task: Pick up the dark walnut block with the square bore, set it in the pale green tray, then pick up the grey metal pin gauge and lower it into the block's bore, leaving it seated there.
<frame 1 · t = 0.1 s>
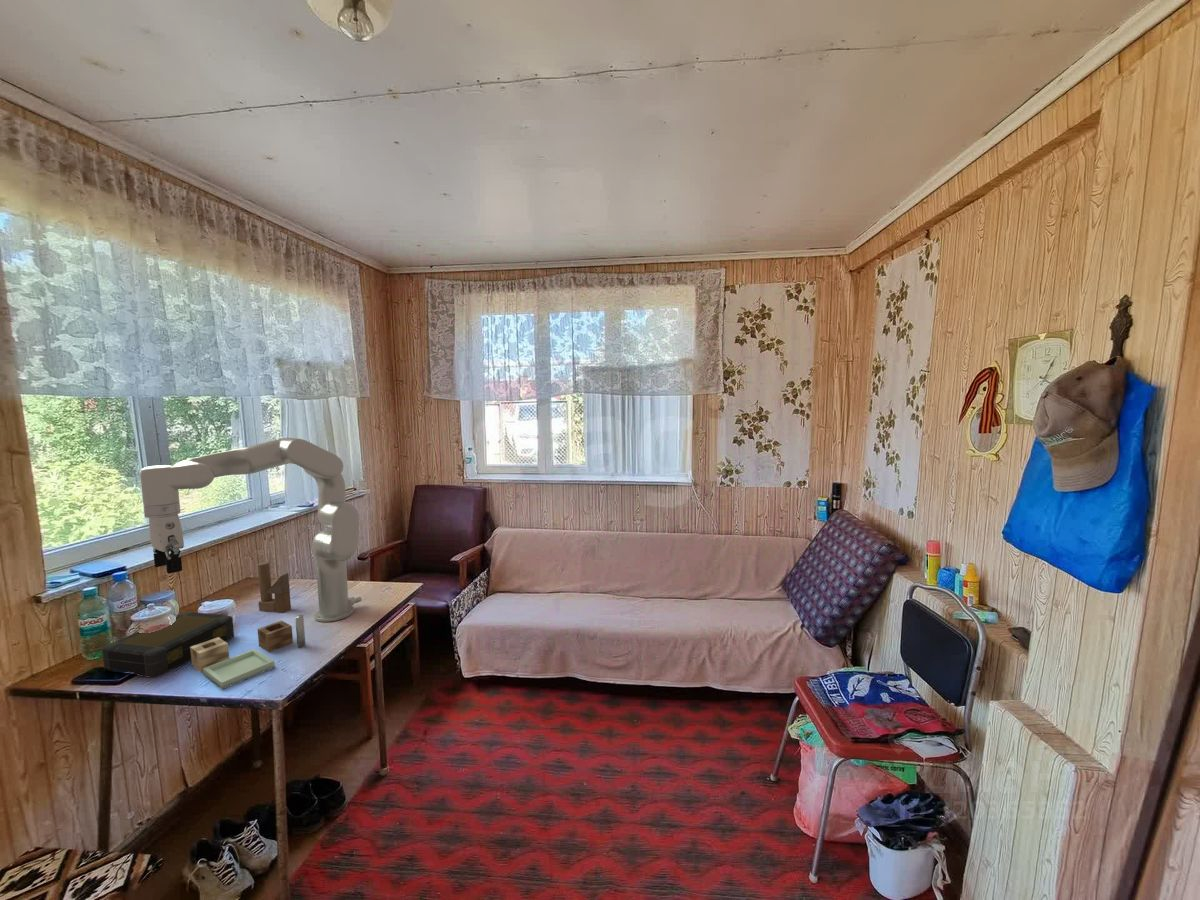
hand: (168, 568, 137), 31 cm above the table, fingers open, 9 cm apart
pin gauge: (301, 646, 155), on the table
walnut block: (276, 645, 156), on the table
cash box: (172, 654, 152), on the table
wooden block: (275, 610, 182), on the table
oak block: (210, 664, 145), on the table
tray: (239, 671, 141), on the table
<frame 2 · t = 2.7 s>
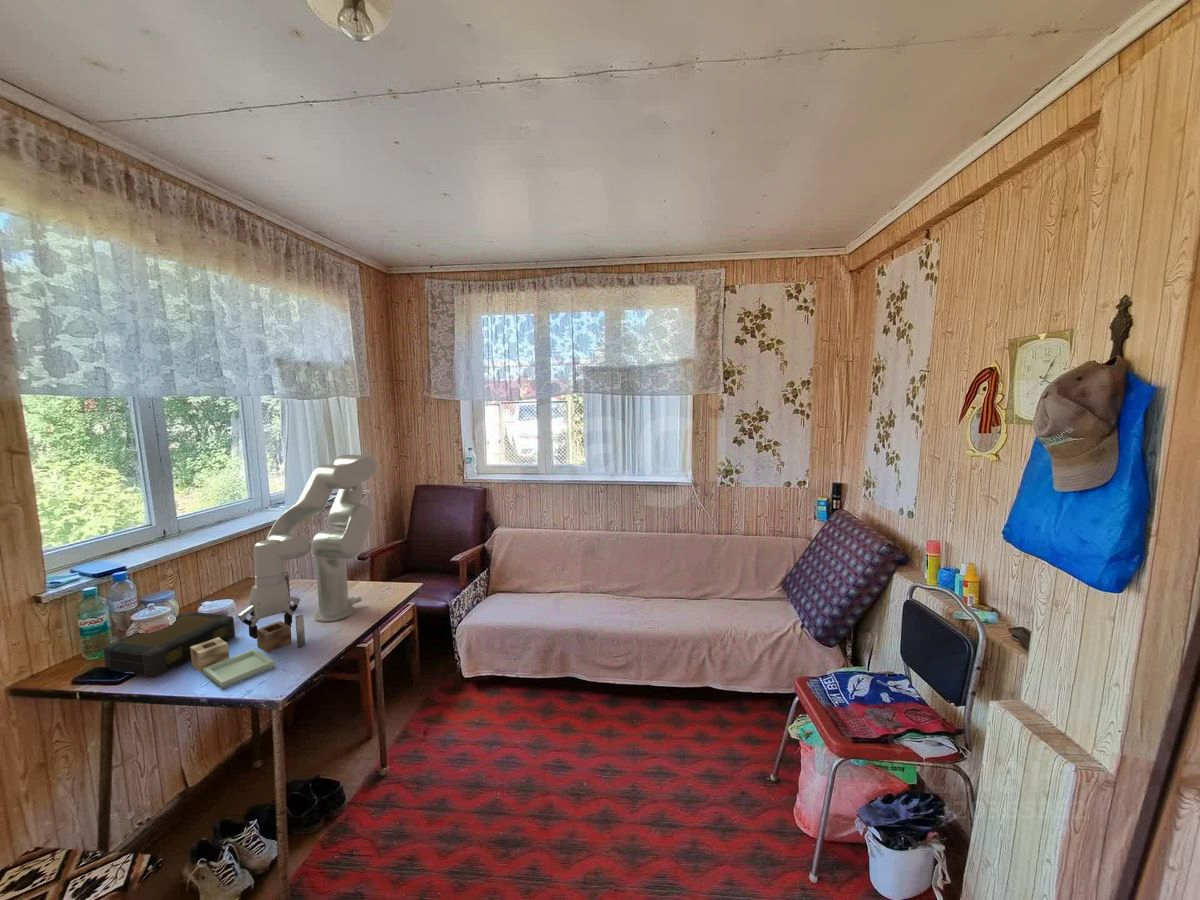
hand: (271, 631, 154), 5 cm above the table, fingers open, 9 cm apart
nothing on the table moved.
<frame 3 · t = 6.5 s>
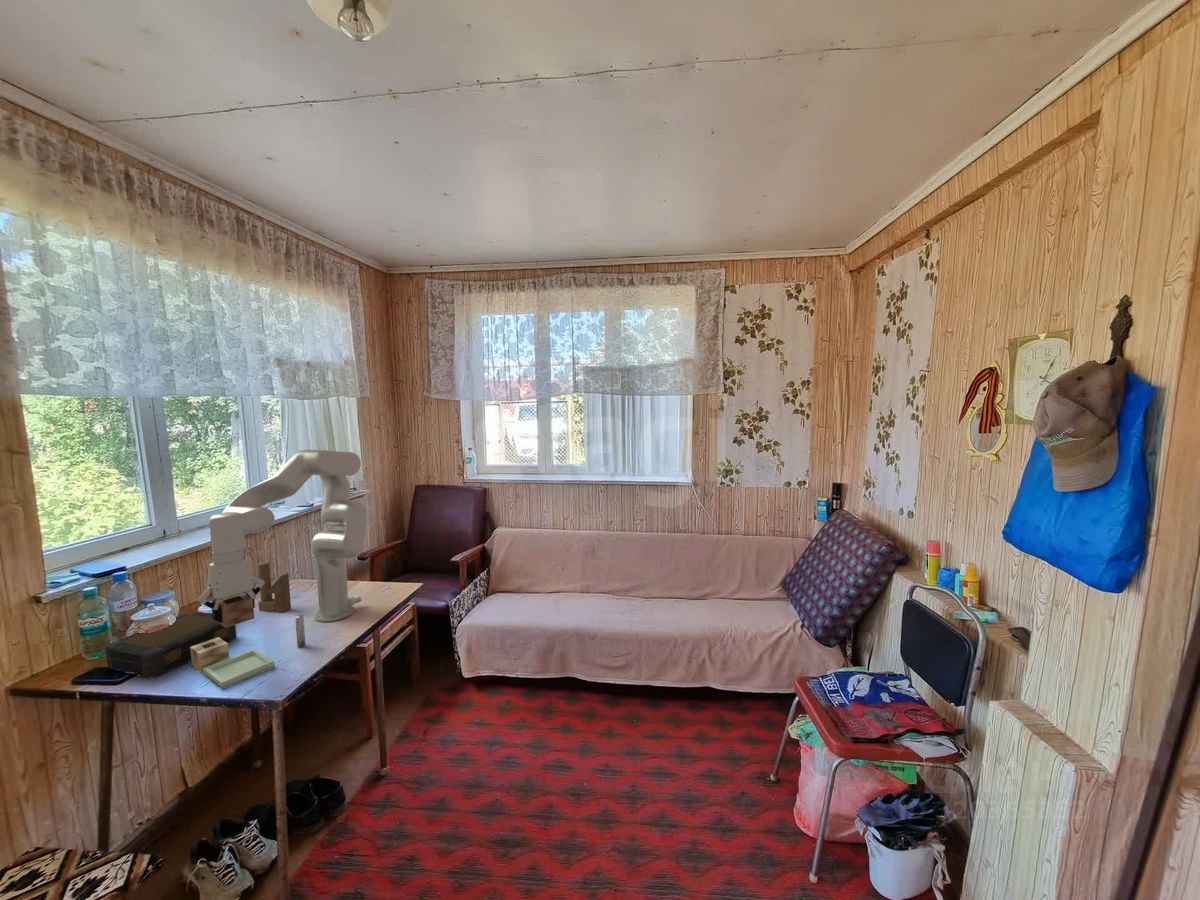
hand: (234, 615, 139), 17 cm above the table, fingers closed on walnut block, 7 cm apart
walnut block: (235, 619, 139), point 16 cm above the table, touching gripper
when the fingers open (3 cm above the table, at t = 9.5 s): walnut block stays where it is, resting on tray.
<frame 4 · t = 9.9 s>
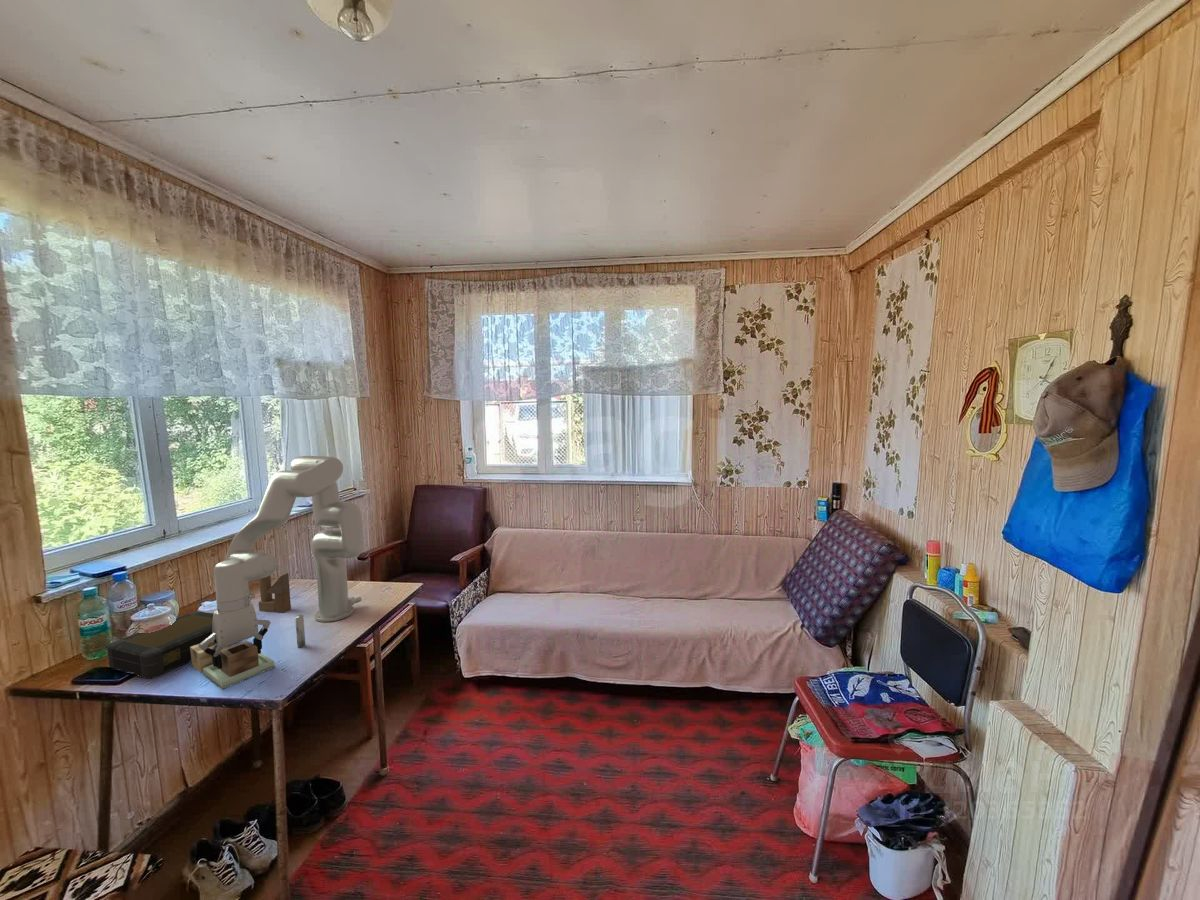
hand: (238, 659, 141), 4 cm above the table, fingers open, 9 cm apart
walnut block: (240, 668, 141), point 1 cm above the table, touching tray
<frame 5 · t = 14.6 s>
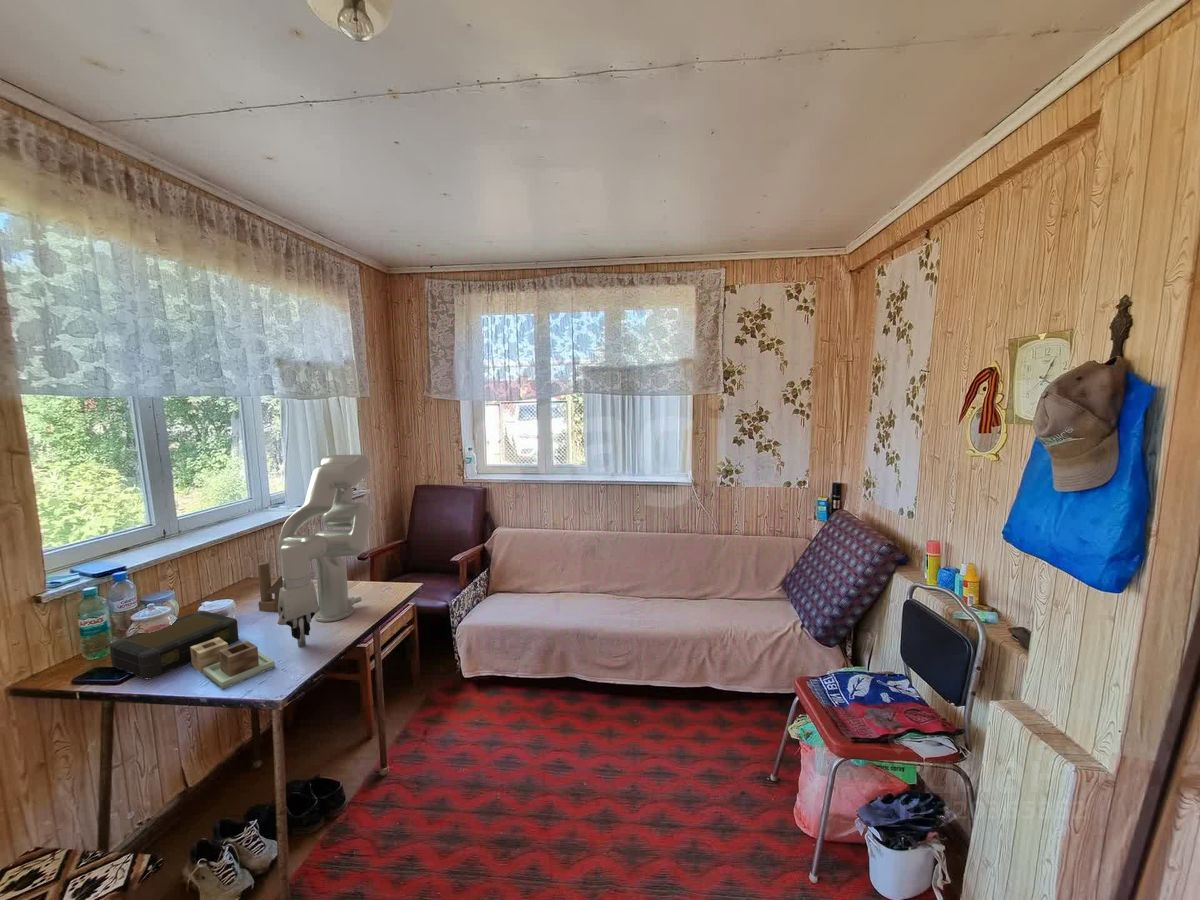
hand: (301, 635, 155), 3 cm above the table, fingers closed on pin gauge, 2 cm apart
pin gauge: (302, 645, 155), on the table, touching gripper
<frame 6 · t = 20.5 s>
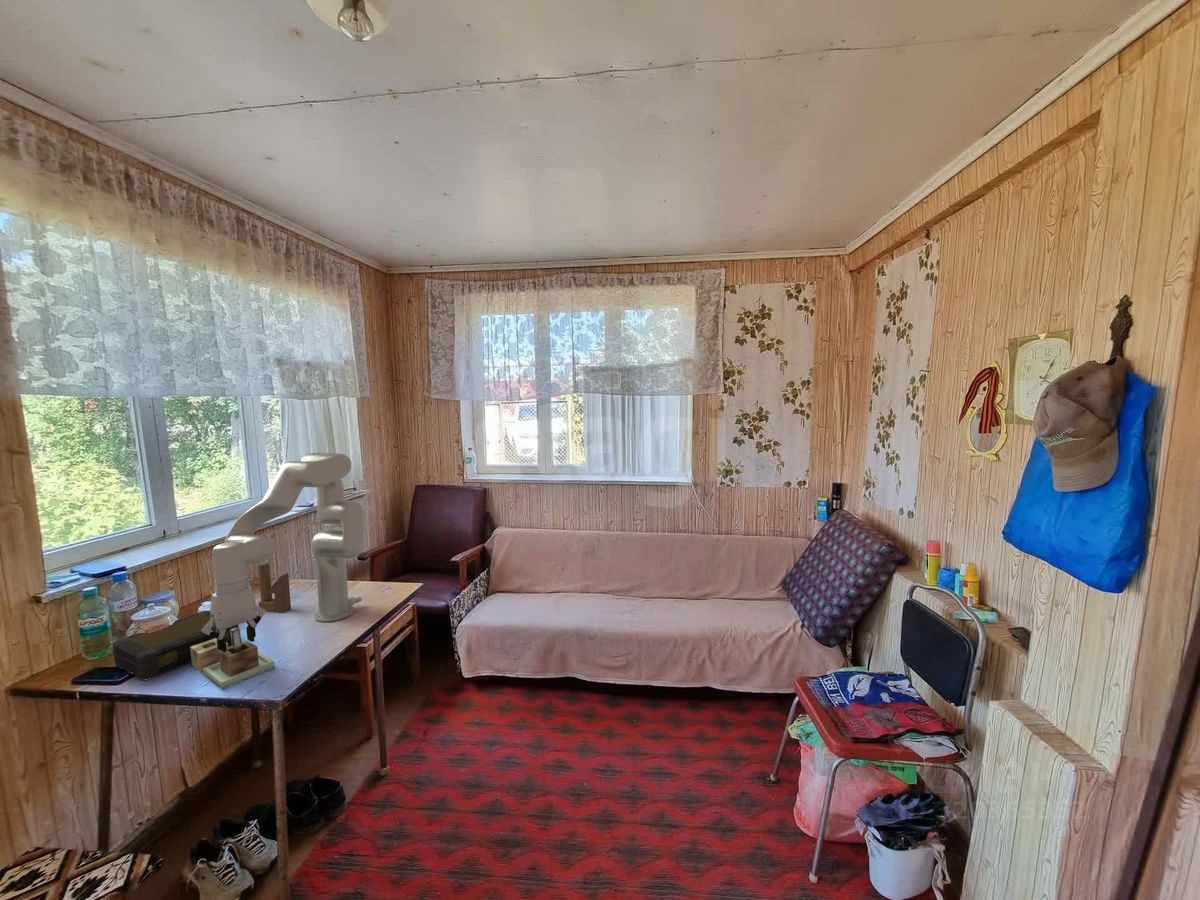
hand: (237, 645, 140), 8 cm above the table, fingers open, 6 cm apart
pin gauge: (239, 661, 141), point 3 cm above the table, touching walnut block
walnut block: (240, 668, 141), point 1 cm above the table, touching pin gauge, tray
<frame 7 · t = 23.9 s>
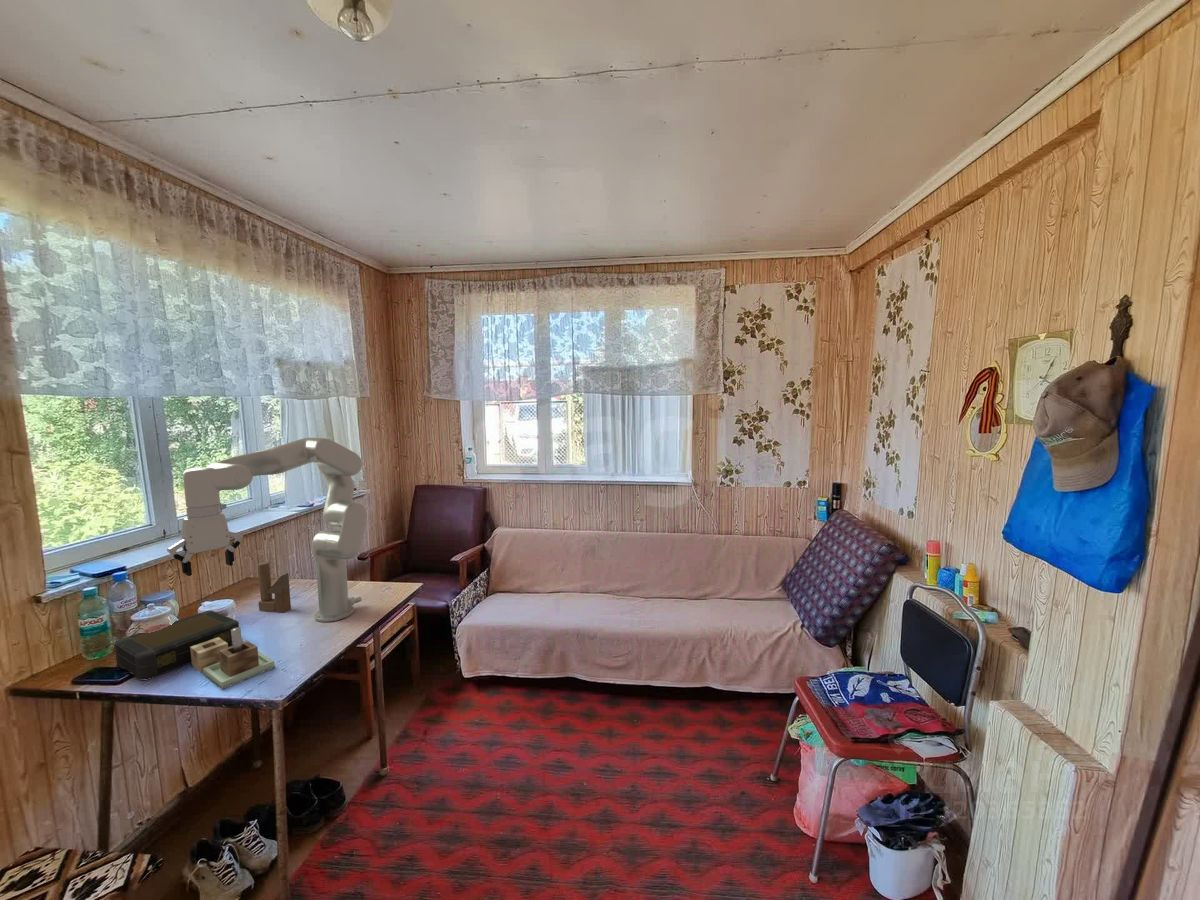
hand: (209, 569, 139), 30 cm above the table, fingers open, 9 cm apart
at the end: walnut block 0.2 cm off-centre on the tray, point 0.8 cm above the tray's base; pin gauge 0.1 cm from the walnut block (horizontally); pin gauge point 2.8 cm above the table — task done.
